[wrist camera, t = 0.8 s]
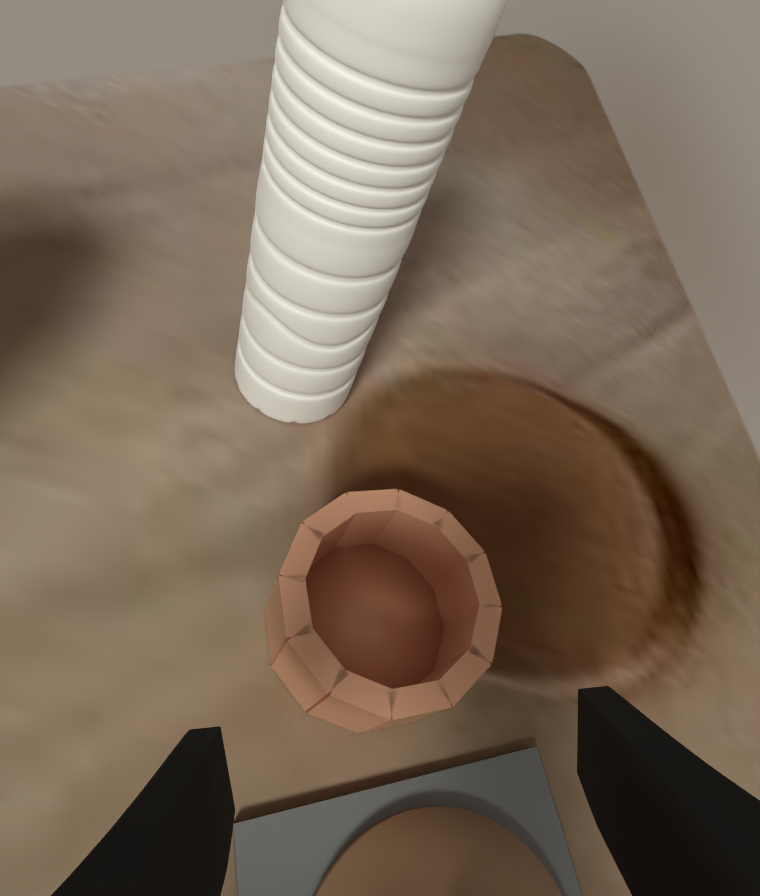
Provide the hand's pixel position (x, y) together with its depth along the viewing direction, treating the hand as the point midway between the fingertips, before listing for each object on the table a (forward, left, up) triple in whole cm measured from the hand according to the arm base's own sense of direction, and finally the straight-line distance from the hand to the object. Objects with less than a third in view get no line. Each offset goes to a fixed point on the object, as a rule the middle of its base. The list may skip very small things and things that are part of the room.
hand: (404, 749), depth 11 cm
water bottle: (+21, -3, -14) cm, 25 cm away
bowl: (+6, -4, -14) cm, 15 cm away
